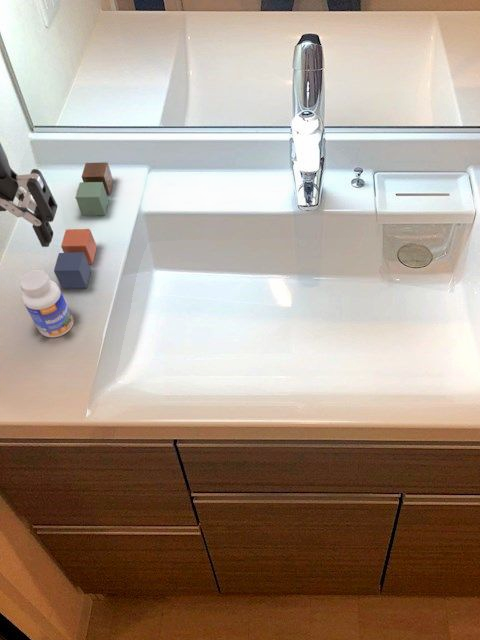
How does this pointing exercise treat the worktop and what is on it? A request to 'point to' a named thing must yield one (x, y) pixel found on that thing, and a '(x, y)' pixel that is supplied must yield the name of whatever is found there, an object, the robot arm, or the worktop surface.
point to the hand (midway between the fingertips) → (15, 243)
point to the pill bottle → (45, 304)
